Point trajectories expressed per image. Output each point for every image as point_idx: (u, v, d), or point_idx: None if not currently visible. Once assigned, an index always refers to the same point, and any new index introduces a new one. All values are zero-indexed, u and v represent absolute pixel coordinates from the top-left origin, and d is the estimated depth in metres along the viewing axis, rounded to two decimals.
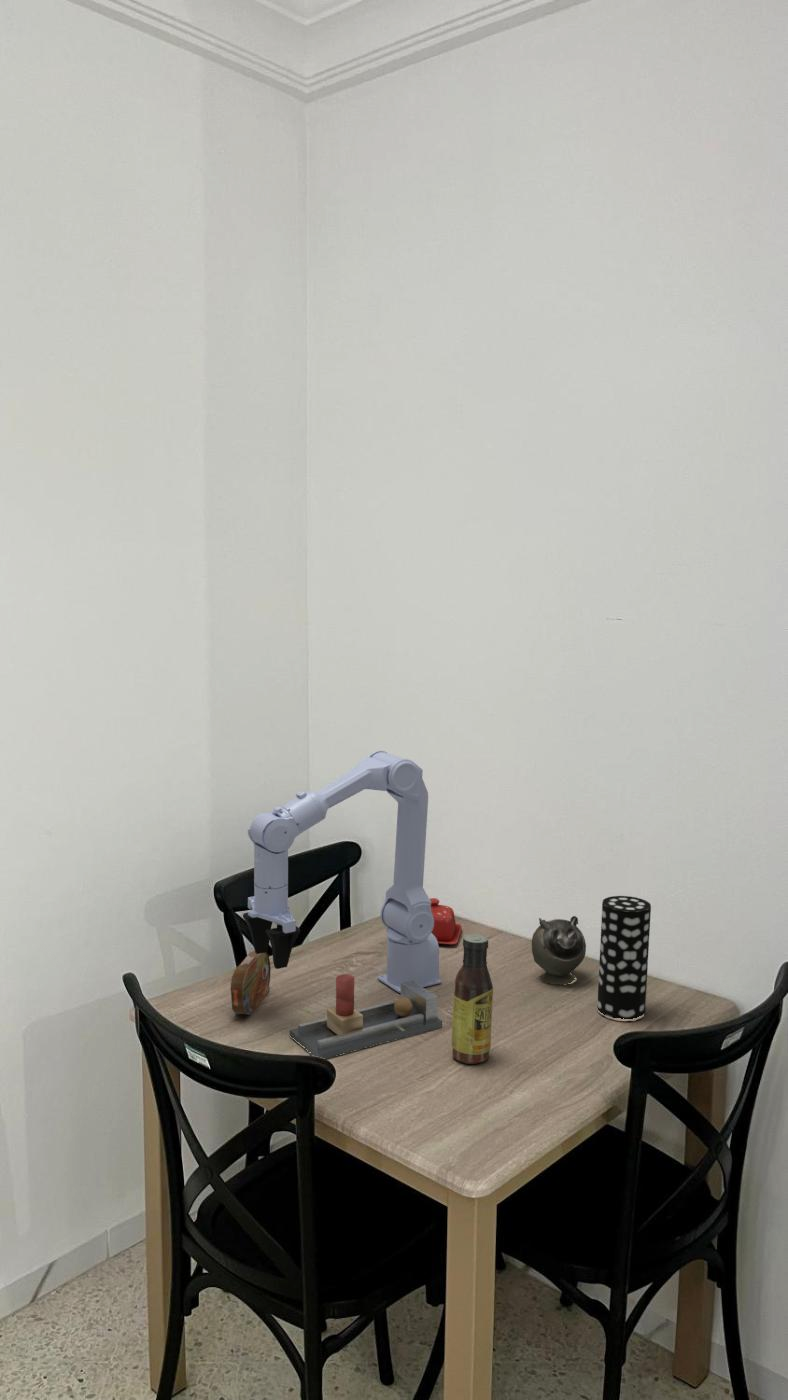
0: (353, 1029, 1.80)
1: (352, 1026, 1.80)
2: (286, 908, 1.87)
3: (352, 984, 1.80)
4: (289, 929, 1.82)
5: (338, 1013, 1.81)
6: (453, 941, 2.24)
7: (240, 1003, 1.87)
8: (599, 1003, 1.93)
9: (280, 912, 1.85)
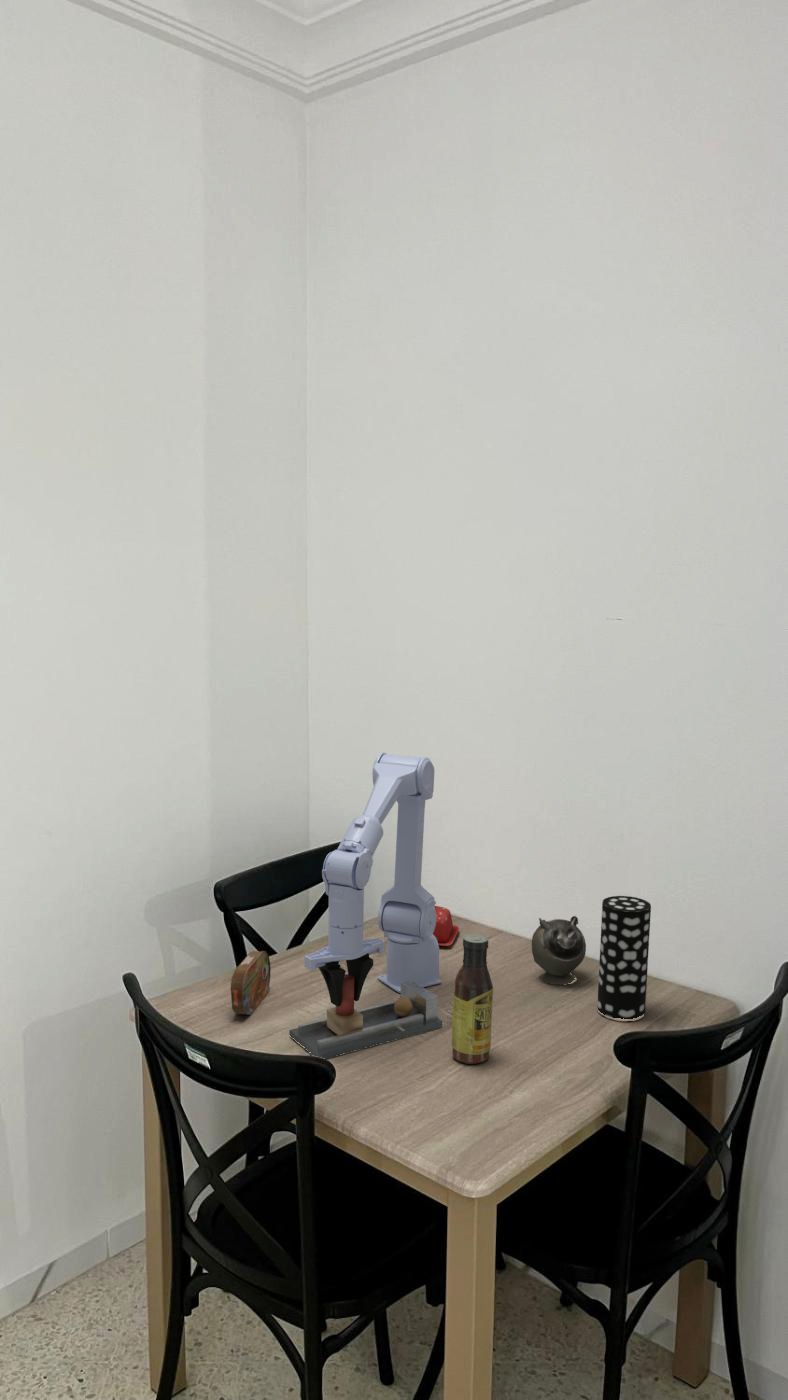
0: (353, 1029, 1.80)
1: (352, 1026, 1.80)
2: (341, 952, 1.77)
3: (352, 984, 1.80)
4: (307, 965, 1.76)
5: (338, 1013, 1.81)
6: (448, 943, 2.23)
7: (240, 1003, 1.87)
8: (599, 1003, 1.93)
9: (332, 951, 1.78)
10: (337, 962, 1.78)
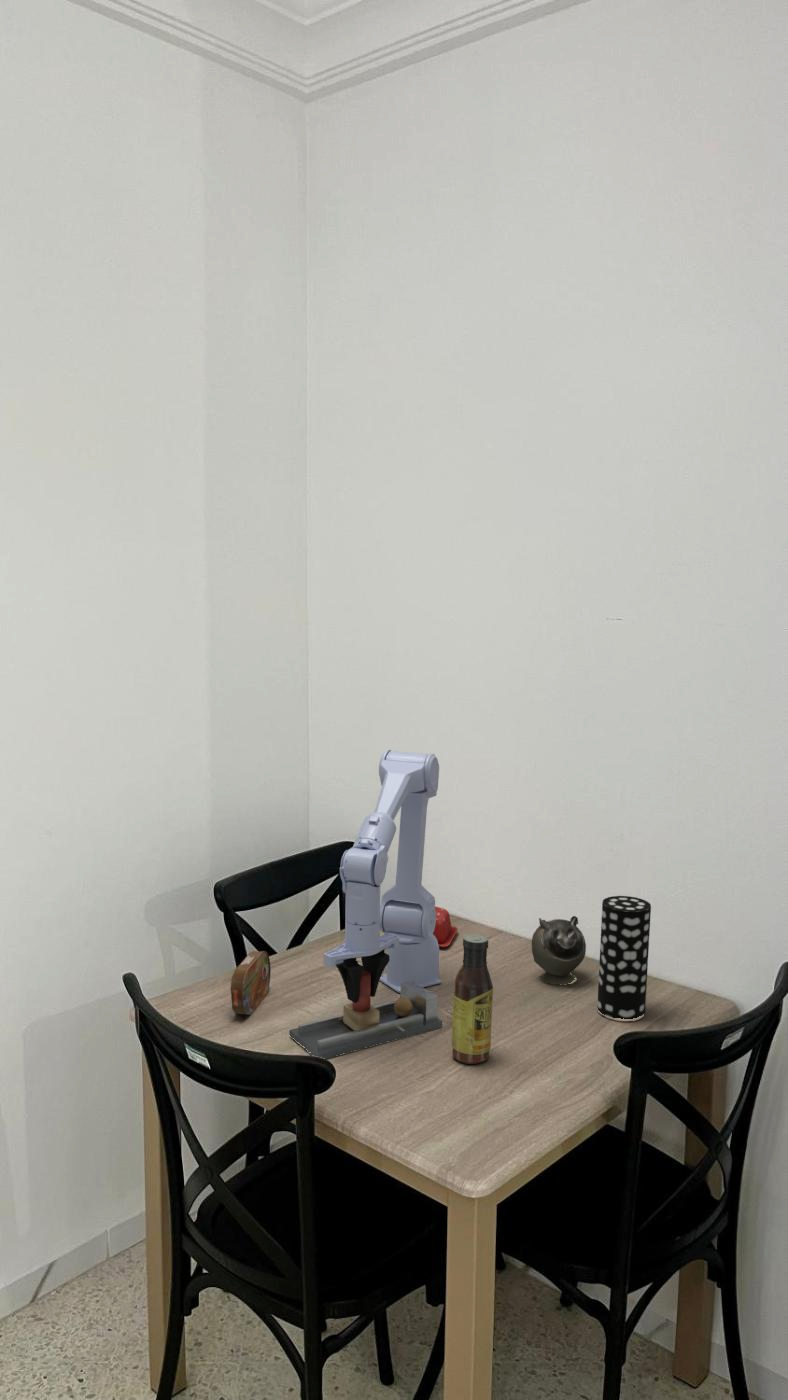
0: (370, 1025, 1.82)
1: (369, 1021, 1.82)
2: (359, 949, 1.79)
3: (368, 980, 1.82)
4: (326, 962, 1.77)
5: (355, 1009, 1.82)
6: (445, 943, 2.23)
7: (240, 1003, 1.87)
8: (599, 1003, 1.93)
9: (349, 948, 1.80)
10: (355, 959, 1.80)
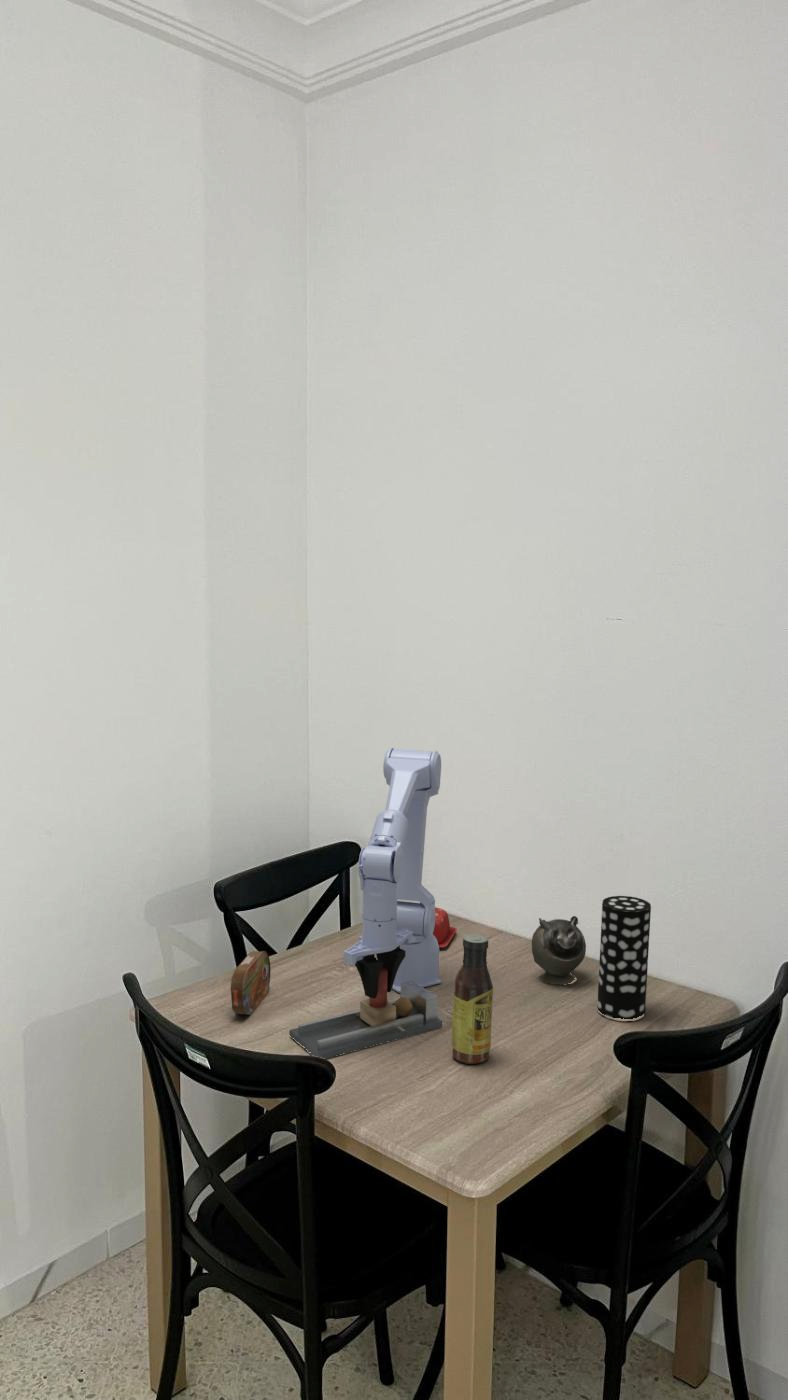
0: (386, 1020, 1.84)
1: (385, 1017, 1.83)
2: (378, 945, 1.81)
3: (385, 976, 1.84)
4: (346, 960, 1.79)
5: (372, 1005, 1.84)
6: (443, 944, 2.22)
7: (240, 1003, 1.87)
8: (599, 1003, 1.93)
9: (368, 945, 1.81)
10: (373, 955, 1.82)
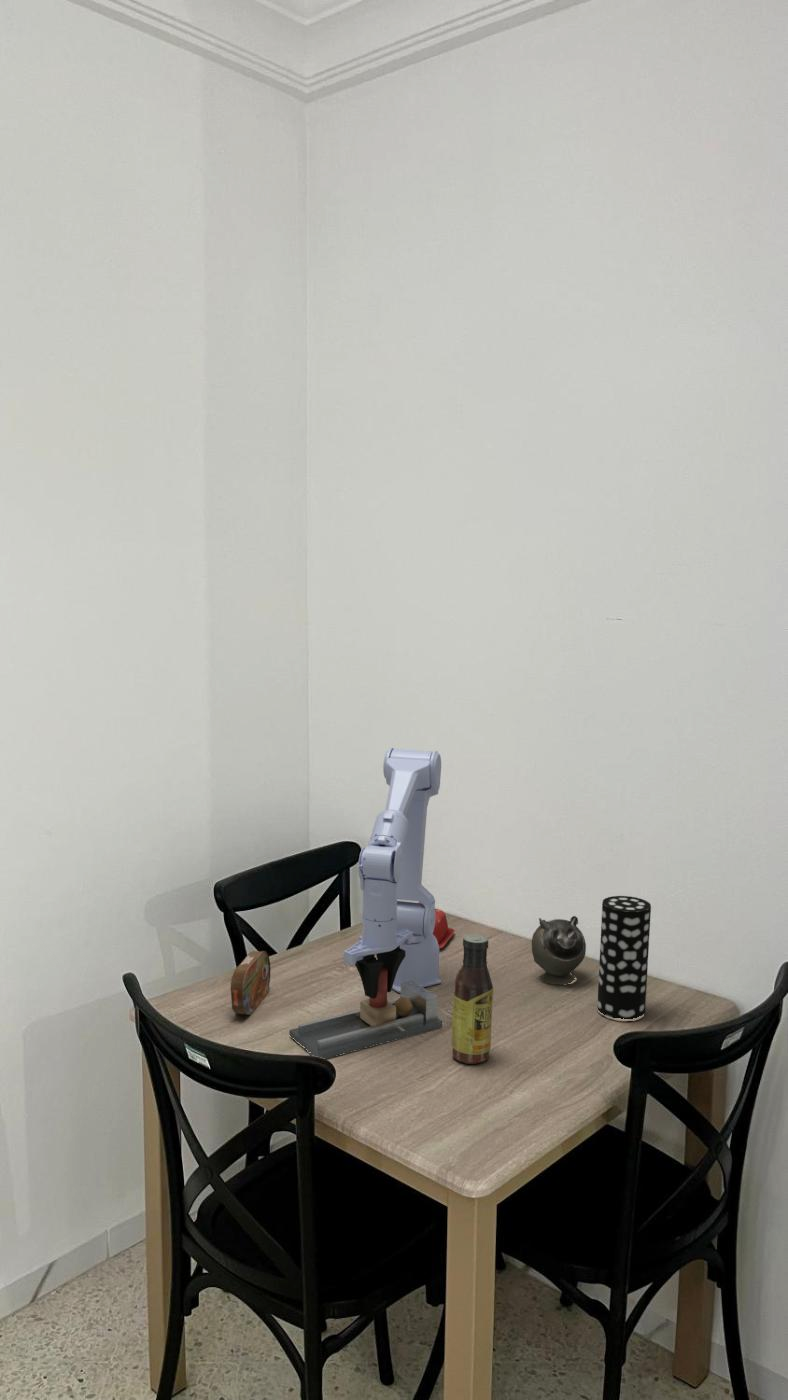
0: (386, 1020, 1.84)
1: (385, 1017, 1.83)
2: (378, 945, 1.81)
3: (385, 976, 1.84)
4: (346, 960, 1.79)
5: (372, 1005, 1.84)
6: (440, 945, 2.22)
7: (240, 1003, 1.87)
8: (599, 1003, 1.93)
9: (368, 945, 1.81)
10: (373, 955, 1.82)
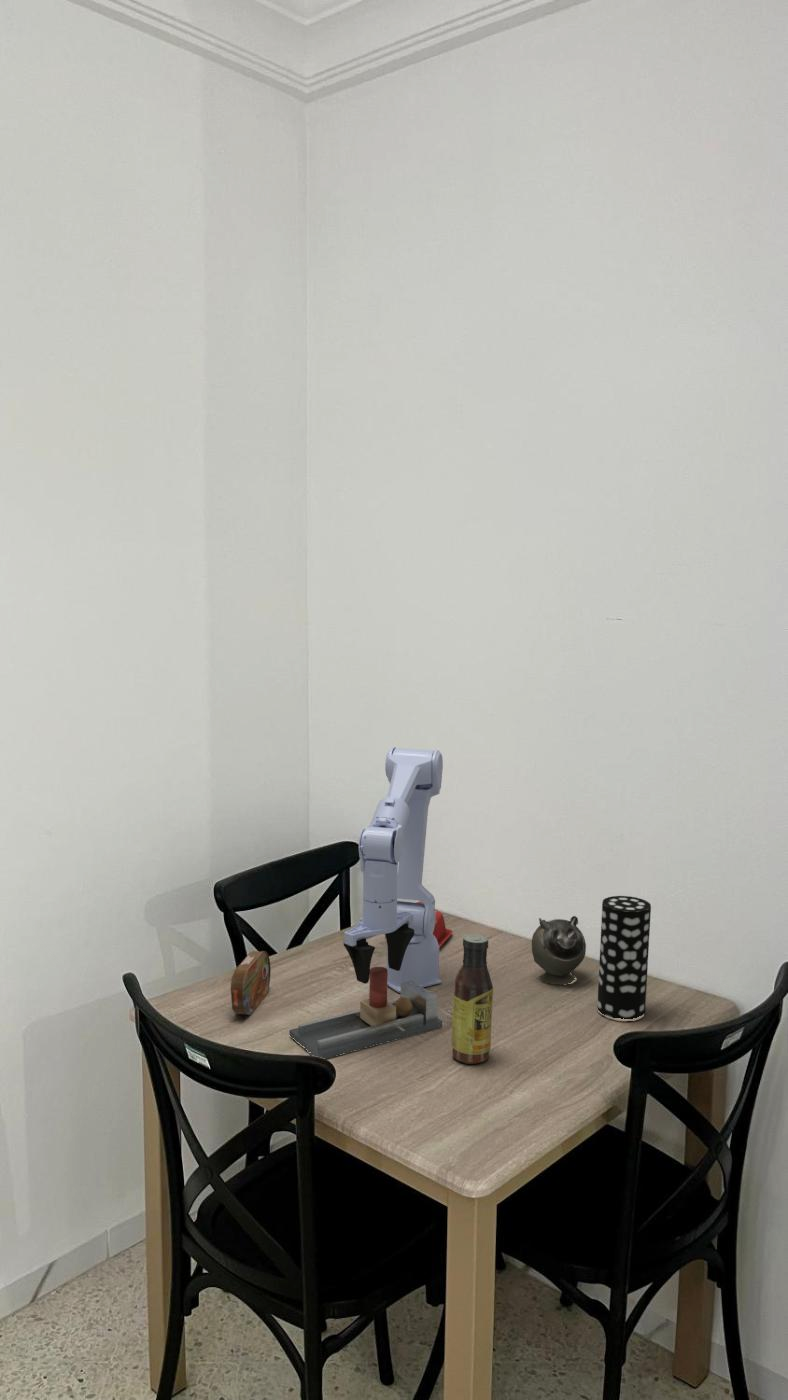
0: (386, 1020, 1.84)
1: (385, 1017, 1.83)
2: (378, 927, 1.80)
3: (385, 976, 1.84)
4: (347, 941, 1.78)
5: (372, 1005, 1.84)
6: None
7: (240, 1003, 1.87)
8: (599, 1003, 1.93)
9: (368, 926, 1.81)
10: None
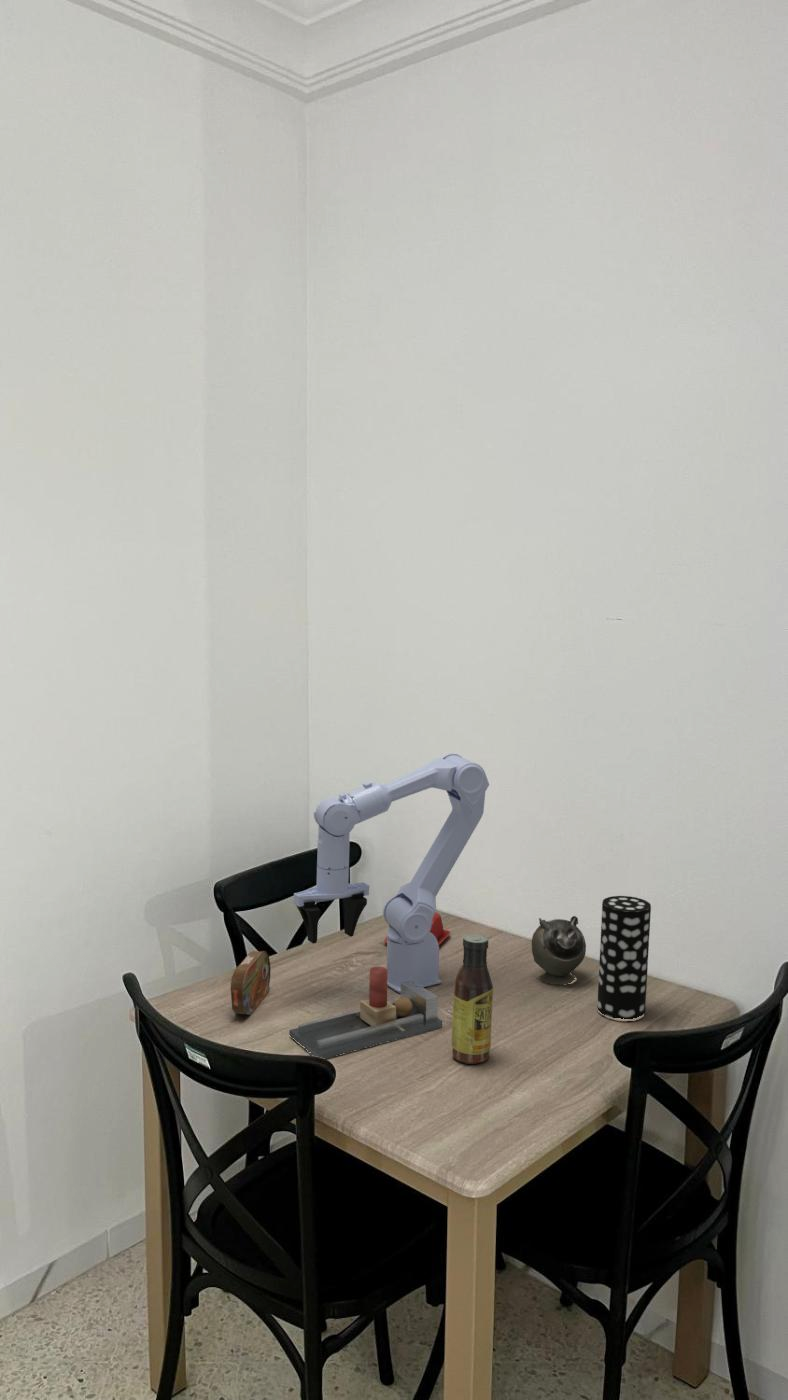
0: (386, 1020, 1.84)
1: (385, 1017, 1.83)
2: (327, 891, 1.95)
3: (385, 976, 1.84)
4: (295, 901, 1.94)
5: (372, 1005, 1.84)
6: None
7: (240, 1003, 1.87)
8: (599, 1003, 1.93)
9: (319, 891, 1.96)
10: None
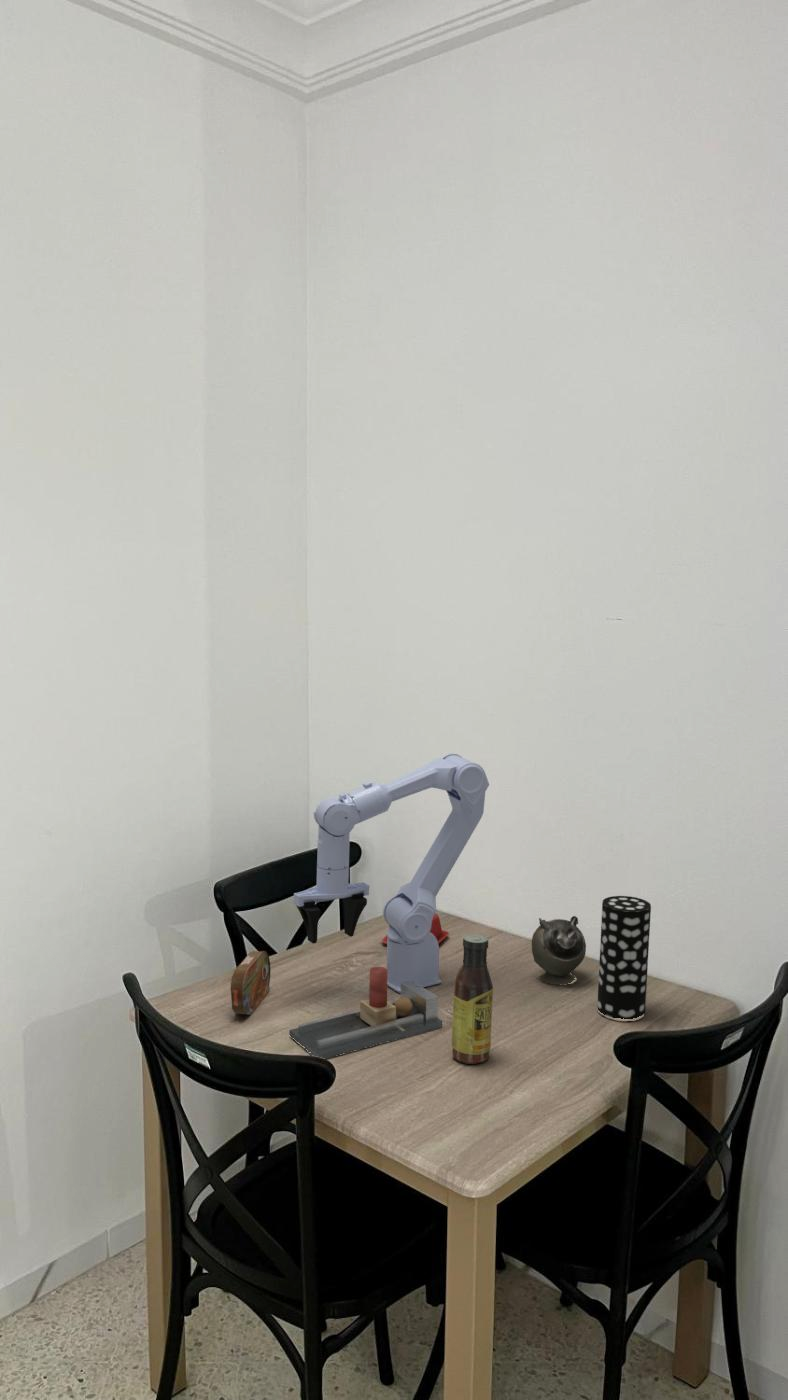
0: (386, 1020, 1.84)
1: (385, 1017, 1.83)
2: (327, 891, 1.95)
3: (385, 976, 1.84)
4: (295, 901, 1.94)
5: (372, 1005, 1.84)
6: None
7: (240, 1003, 1.87)
8: (599, 1003, 1.93)
9: (319, 891, 1.96)
10: None
